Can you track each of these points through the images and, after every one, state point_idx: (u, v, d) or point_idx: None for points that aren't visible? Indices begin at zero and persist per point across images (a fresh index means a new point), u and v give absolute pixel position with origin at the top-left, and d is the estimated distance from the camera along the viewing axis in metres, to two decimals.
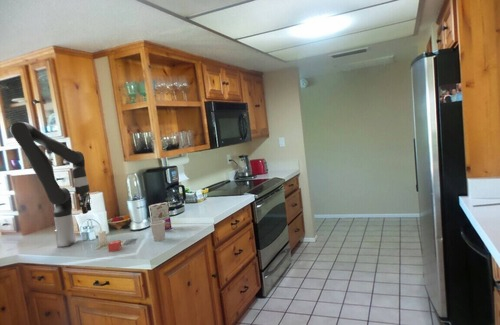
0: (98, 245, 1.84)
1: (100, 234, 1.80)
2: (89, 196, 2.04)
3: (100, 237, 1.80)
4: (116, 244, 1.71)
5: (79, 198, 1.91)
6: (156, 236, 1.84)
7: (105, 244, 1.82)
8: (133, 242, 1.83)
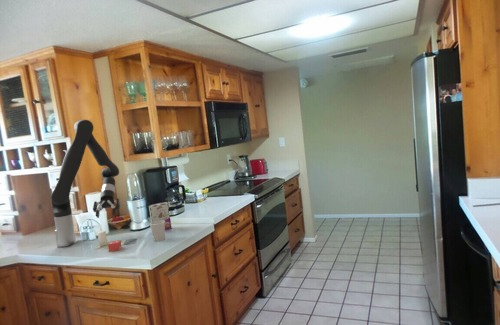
0: (98, 245, 1.84)
1: (100, 234, 1.80)
2: (96, 206, 1.98)
3: (100, 237, 1.80)
4: (116, 244, 1.71)
5: (118, 200, 1.99)
6: (156, 236, 1.84)
7: (105, 244, 1.82)
8: (133, 242, 1.83)
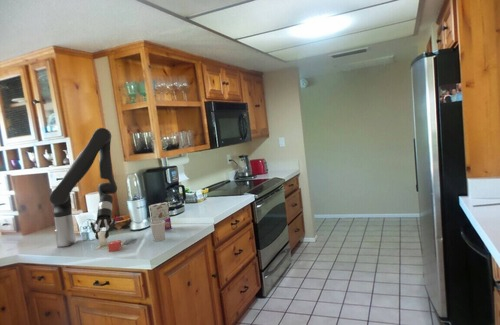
0: (98, 245, 1.84)
1: (100, 234, 1.80)
2: None
3: (100, 237, 1.80)
4: (116, 244, 1.71)
5: (115, 221, 1.88)
6: (156, 236, 1.84)
7: (105, 244, 1.82)
8: (133, 242, 1.83)
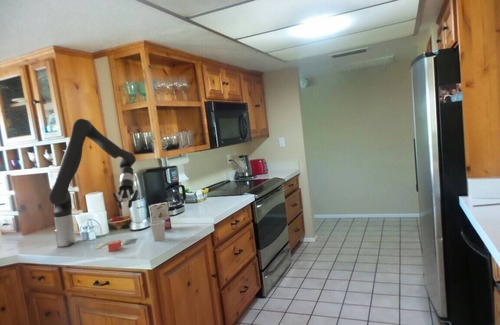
0: (98, 245, 1.84)
1: (123, 203, 1.81)
2: None
3: (123, 206, 1.81)
4: (116, 244, 1.71)
5: (137, 192, 1.88)
6: (156, 236, 1.84)
7: (128, 214, 1.82)
8: (133, 242, 1.83)
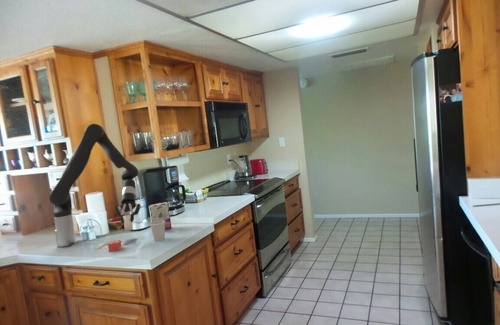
0: (98, 245, 1.84)
1: (125, 217, 1.82)
2: (118, 211, 1.88)
3: (125, 220, 1.82)
4: (116, 244, 1.71)
5: (139, 205, 1.89)
6: (156, 236, 1.84)
7: (130, 227, 1.83)
8: (133, 242, 1.83)
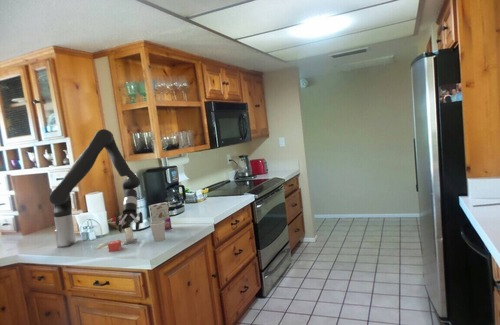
0: (98, 245, 1.84)
1: (127, 230, 1.82)
2: (118, 220, 1.89)
3: (127, 233, 1.82)
4: (116, 244, 1.71)
5: (141, 214, 1.90)
6: (156, 236, 1.84)
7: (132, 240, 1.84)
8: (133, 242, 1.83)
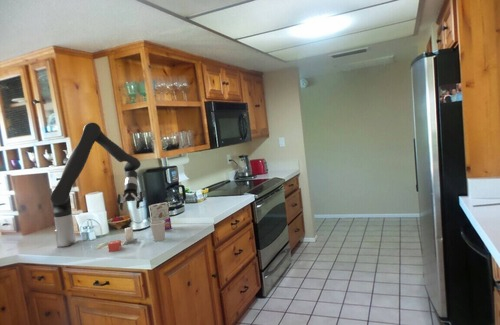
0: (98, 245, 1.84)
1: (127, 230, 1.82)
2: None
3: (127, 233, 1.82)
4: (116, 244, 1.71)
5: None
6: (156, 236, 1.84)
7: (132, 240, 1.84)
8: (133, 242, 1.83)
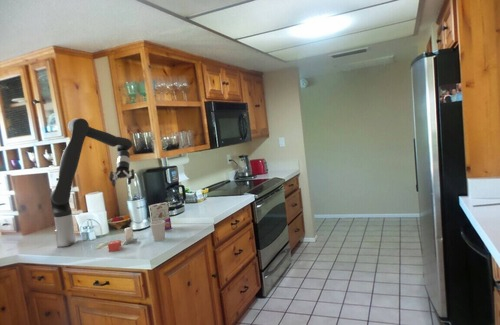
0: (98, 245, 1.84)
1: (127, 230, 1.82)
2: (112, 176, 2.08)
3: (127, 233, 1.82)
4: (116, 244, 1.71)
5: (133, 171, 2.10)
6: (156, 236, 1.84)
7: (132, 240, 1.84)
8: (133, 242, 1.83)
